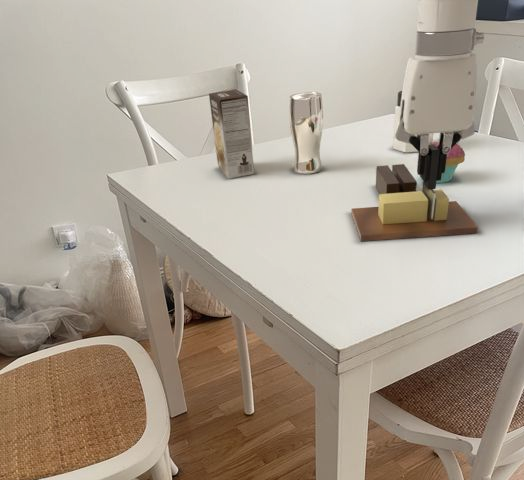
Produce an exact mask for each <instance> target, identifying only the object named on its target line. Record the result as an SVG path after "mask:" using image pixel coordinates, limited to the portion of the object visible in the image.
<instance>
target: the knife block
mask: <svg viewBox="0 0 524 480" xmlns="http://www.w3.org/2000/svg"><path fill="white" fill-rule="evenodd" d="M375 169H376V170H375V188H376V191H377V192H378V195H379V194H389V193H403V192H416V191H417V185H418V184H417V183H418V182H417V180H416V178H415V177H414V176H413V175H412V173H411V172H410V170H409V169H408V167H407V166H406V165H405V163H399V164H392V165H391V168H390V166H389V165H388V164H386V165H377V166H376V168H375Z"/></svg>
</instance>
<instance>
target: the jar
mask: <svg viewBox="0 0 524 480" xmlns="http://www.w3.org/2000/svg"><path fill="white" fill-rule="evenodd" d="M401 97H402V90H400V91H398V92H397V99H396V100H397V102H396V105H395V108H394V123H393V124H394V125H393V142H392V149H393V150H395V151H398V152H403V153H404V154H405V153H406V154H407V153H409V154H410V153H419V152H418V151H417V150H416V149H415V148H414V146H413V145H412V144H409V143H405V142H402V141H398V140H397V139H396V137H395V134H396V132H397V129H398V127H399V124H400V123H399V113H400V104H401ZM409 134H410V133H409ZM414 135H415V136H416V137H417V134H414ZM433 140H434V133H430V134H429V144H430V143H432V142H434V141H433Z"/></svg>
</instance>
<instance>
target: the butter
mask: <svg viewBox="0 0 524 480" xmlns="http://www.w3.org/2000/svg"><path fill="white" fill-rule="evenodd" d="M377 207H378V215H379V217H380V219H381V222H382V224H396V223H410V222H424V221H427V211H428V199H427V198H426V196H425V195H424V193H423V192H422V190H419V191H417V190H416V192H403V193H389V194H379V193H378V206H377Z"/></svg>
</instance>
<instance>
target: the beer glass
mask: <svg viewBox="0 0 524 480" xmlns="http://www.w3.org/2000/svg"><path fill="white" fill-rule="evenodd" d="M322 95H323V94H322V93H321V92H314V91H313V92H311V91H308V92H299V93H294V94H291V95H290V96H289V107H288V109H289V111H288V112H289V115H288V116H289V128H290V134H291V138H292V143H293V148H294V165H293V171H294V173H296V174H301V175H310V174H316V173H319V172H321V171H322V170H323V166H322V161H321V154H320V153H321V141H322V136H323V127H324V110H323V109H324V106H323V97H322Z"/></svg>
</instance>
